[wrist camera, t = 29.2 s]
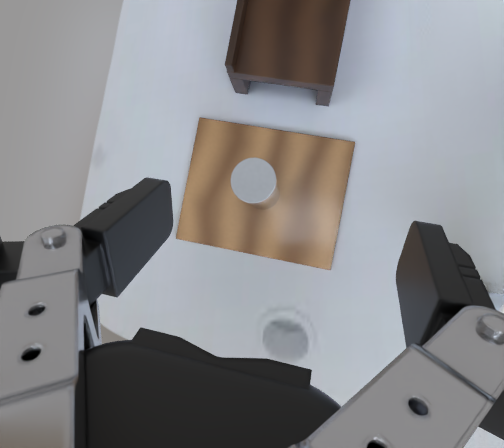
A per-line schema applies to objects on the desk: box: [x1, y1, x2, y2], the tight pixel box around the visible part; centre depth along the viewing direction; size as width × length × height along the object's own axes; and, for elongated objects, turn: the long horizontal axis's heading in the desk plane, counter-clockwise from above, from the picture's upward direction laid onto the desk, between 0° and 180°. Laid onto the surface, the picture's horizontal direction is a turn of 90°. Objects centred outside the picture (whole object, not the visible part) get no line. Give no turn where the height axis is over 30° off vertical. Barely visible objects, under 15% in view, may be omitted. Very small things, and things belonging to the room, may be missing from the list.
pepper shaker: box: [231, 158, 280, 210], centre depth 39 cm, size 4×4×10 cm
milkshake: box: [488, 292, 504, 313], centre depth 36 cm, size 4×5×10 cm
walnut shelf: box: [225, 0, 350, 106], centre depth 41 cm, size 12×20×8 cm, turn 169°
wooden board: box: [176, 118, 355, 270], centre depth 44 cm, size 20×16×1 cm
